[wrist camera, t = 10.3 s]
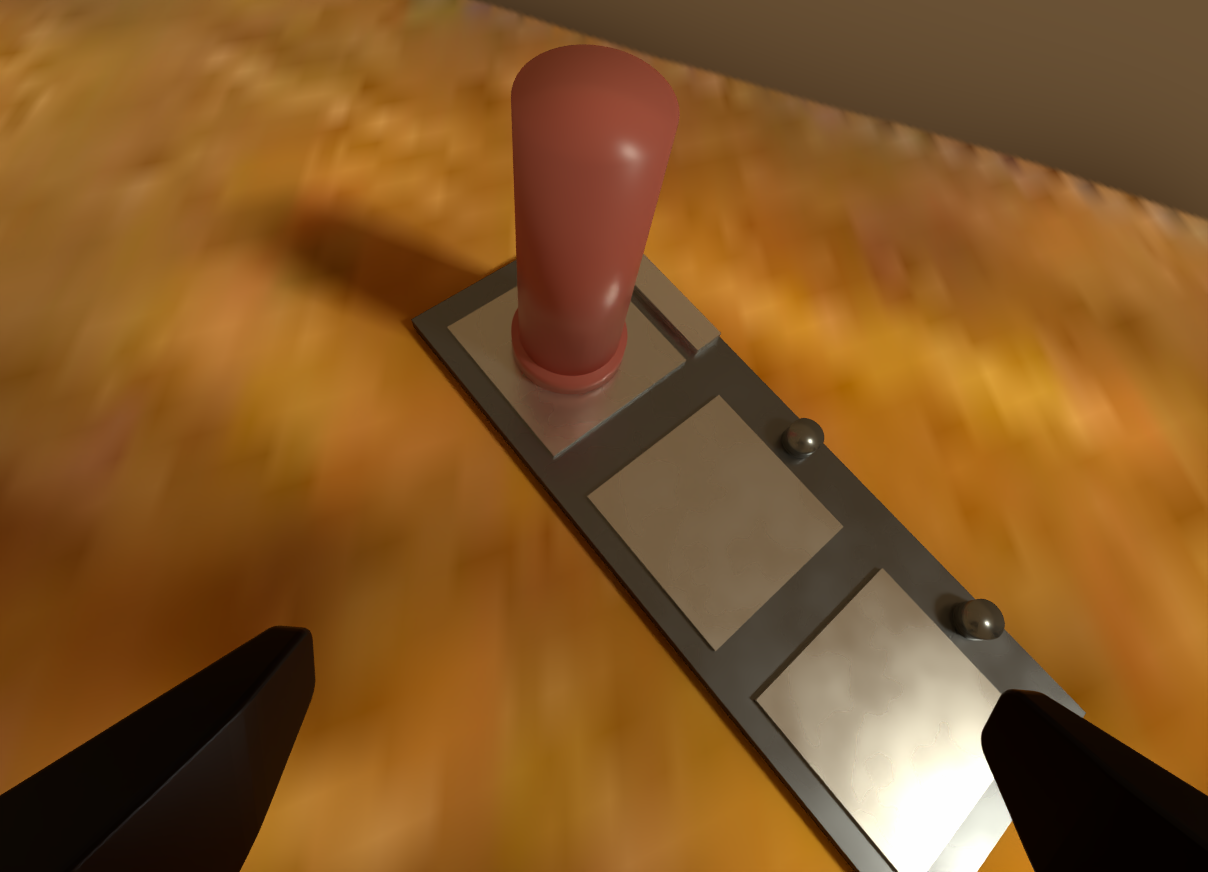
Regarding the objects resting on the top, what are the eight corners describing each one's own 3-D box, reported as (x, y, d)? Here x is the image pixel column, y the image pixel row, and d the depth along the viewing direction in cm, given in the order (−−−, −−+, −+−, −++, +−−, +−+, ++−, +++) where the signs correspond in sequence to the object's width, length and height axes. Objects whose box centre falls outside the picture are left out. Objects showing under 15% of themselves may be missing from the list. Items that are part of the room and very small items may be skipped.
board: (911, 940, 18) (940, 961, 17) (414, 327, 24) (407, 308, 23) (1071, 711, 21) (1106, 714, 20) (597, 222, 27) (600, 200, 26)
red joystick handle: (604, 410, 23) (662, 202, 13) (494, 371, 23) (466, 135, 13) (637, 318, 25) (711, 72, 15) (535, 283, 25) (539, 14, 15)
